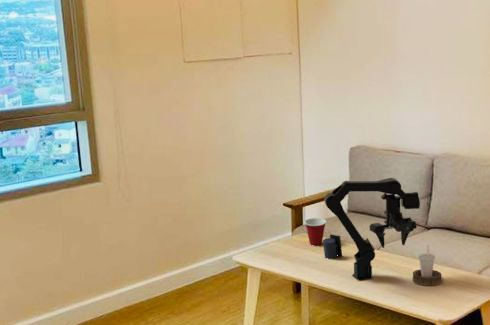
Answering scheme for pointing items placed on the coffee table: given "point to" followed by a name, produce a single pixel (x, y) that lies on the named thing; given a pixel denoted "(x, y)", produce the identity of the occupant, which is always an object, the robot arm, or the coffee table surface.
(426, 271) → the smoothie
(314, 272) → the coffee table surface
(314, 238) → the plastic cup
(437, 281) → the bowl
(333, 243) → the speaker
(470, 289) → the coffee table surface
